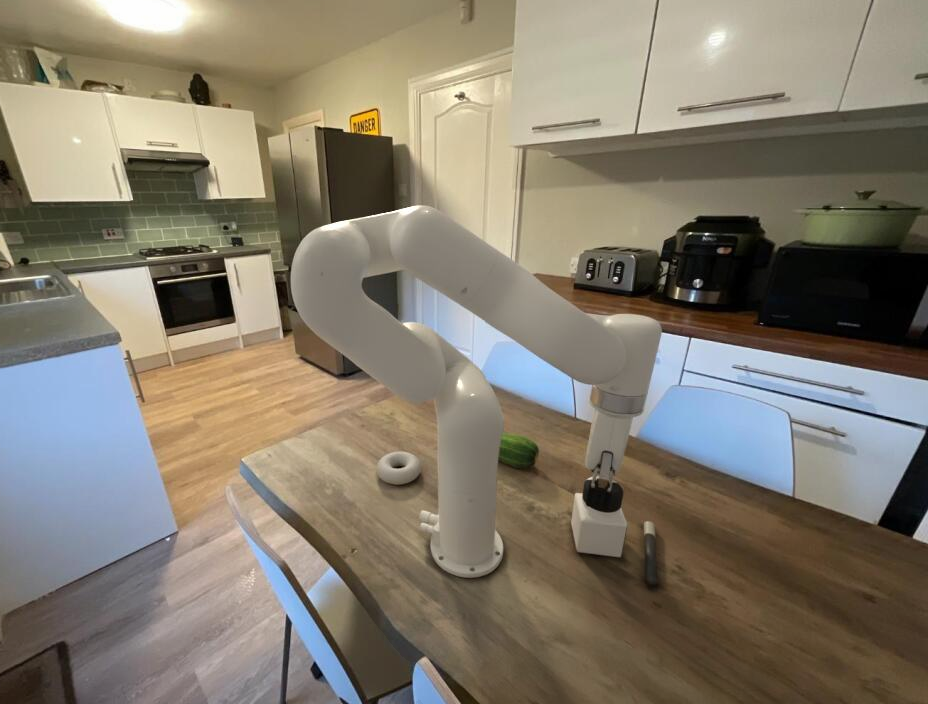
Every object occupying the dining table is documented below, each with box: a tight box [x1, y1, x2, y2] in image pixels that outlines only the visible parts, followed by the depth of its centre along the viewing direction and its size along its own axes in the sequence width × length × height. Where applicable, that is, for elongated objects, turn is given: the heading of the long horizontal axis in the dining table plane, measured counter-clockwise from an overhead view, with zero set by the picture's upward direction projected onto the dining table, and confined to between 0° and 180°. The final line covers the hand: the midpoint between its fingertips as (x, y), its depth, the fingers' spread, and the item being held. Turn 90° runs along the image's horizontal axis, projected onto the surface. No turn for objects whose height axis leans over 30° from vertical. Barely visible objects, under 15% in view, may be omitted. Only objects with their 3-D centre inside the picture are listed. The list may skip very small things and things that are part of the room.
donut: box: [376, 450, 422, 486], centre depth 91 cm, size 10×4×10 cm
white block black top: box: [570, 475, 628, 558], centre depth 70 cm, size 7×7×12 cm
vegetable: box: [498, 432, 540, 470], centre depth 95 cm, size 7×7×20 cm
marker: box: [643, 520, 659, 587], centre depth 68 cm, size 14×2×2 cm
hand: (598, 489), depth 68 cm, fingers open, 9 cm apart
